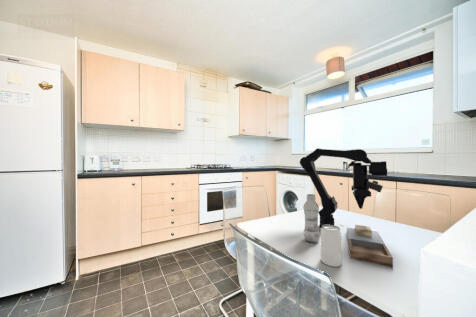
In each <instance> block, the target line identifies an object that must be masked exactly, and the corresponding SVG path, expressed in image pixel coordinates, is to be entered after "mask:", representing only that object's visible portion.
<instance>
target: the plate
mask: <svg viewBox="0 0 476 317" xmlns="http://www.w3.org/2000/svg"><path fill="white" fill-rule="evenodd" d="M346 238H347V240H348V239H351V243H352V245H358V246H364V247H369V248H375V249H381V250H383V245H382V244H385V242H384V240H383V238H382V237H381V235H380V233H379V232H378V231H376V230H375V231H374V230H372V237H371V236H364V235H357V234H356V231H355V227H354V228H353V227H346ZM347 245H348V247H349V244H348V243H347ZM385 245H386V244H385Z"/></svg>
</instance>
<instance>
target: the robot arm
mask: <svg viewBox="0 0 476 317" xmlns="http://www.w3.org/2000/svg"><path fill="white" fill-rule="evenodd" d="M320 157H329V158H330V157H332V158H341V159H342V158H344V159H347V160H351V162H350V163H349V164H348V167H352V183H353V184H352V185H351V191H352V195H353V197H354V199H355V201H356V204H357V206H358V209H361V210H362V209H363V208H364V203H365V200H366V198H368V197H372V192H371V191H370V190H373V191H376V192H377V193H381V192H382V189H383V187H384V186H383V185H382V184H379V182H378V181H376V180H372V181H370V179H369V178H368V174H369V175H371V176H372V177H388V168H387V161H386V160H385V161H383V160H382V161H372V160H371V159H370V158H369V157H368V153H367V152H366V150H364V149H359V148H358V149H348V150H340V149H326V148H325V149H324V148H316V149H315V150H313V151H311V153H309V154H308V155H306V156H302V157H301V158H300V160H299V165H300V166H301V167H302V168H303V170H304V171H305V172H306V173H307V174H308V177H309V178H310V180H311V182H312V184H313V185H314V187H315V189H316V191H317V192H316V193H318V195H319V197H320V202H321V206H322V209H319V212H318V216H319V225H318V228H320V229H322V225H334V226H335V218H334V213H335V212H336V211H337V210H338V204H339V203H338V202H337V200H336V198H335V196H334V195H333V196H331V195H330V194H329V192H328V191H327V188H325V185H324V183H323V182H322V179H321V178H320V176H319V174H318V171H317V170H316V169H317V168H316V165H315V162H316V161H318V159H319V158H320ZM354 161H355V162H354ZM362 162H363V163H364V164H362Z"/></svg>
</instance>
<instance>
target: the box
mask: <svg viewBox="0 0 476 317" xmlns="http://www.w3.org/2000/svg"><path fill="white" fill-rule="evenodd" d="M348 244H349V246H348V252H349V258H350V259H353V260H358V261H363V262H367V263H374V264H377V265H382V266H387V267H394V258H393V256H392V254H391V252H390V250H389V249H388V247H387V245H386V244H382V245H383V250H381V249H375V248H369V247H364V246H358V245H352V243H351V239H347V245H348Z"/></svg>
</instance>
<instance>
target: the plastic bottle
mask: <svg viewBox="0 0 476 317" xmlns="http://www.w3.org/2000/svg"><path fill="white" fill-rule="evenodd" d="M319 211H320V207H319V204H318V202H316V194H314V193H312V194H311V193H307V194H306V201H305V202H304V204H303V213H304V230H303V238H304V240H305V241H306V242H309V243H317V242H319V241H320V231H319V224H318V220H319Z"/></svg>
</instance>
